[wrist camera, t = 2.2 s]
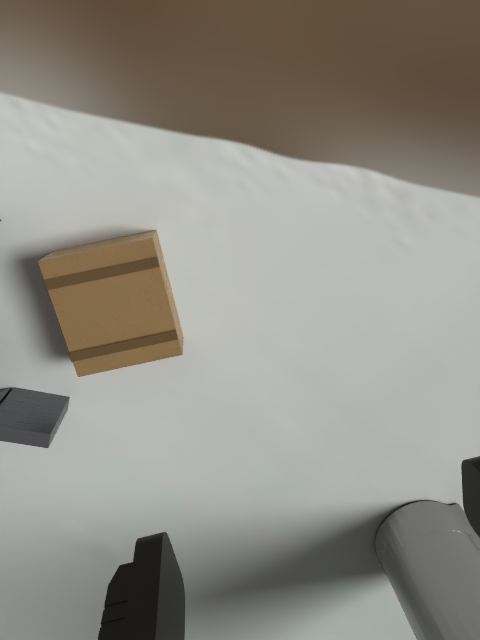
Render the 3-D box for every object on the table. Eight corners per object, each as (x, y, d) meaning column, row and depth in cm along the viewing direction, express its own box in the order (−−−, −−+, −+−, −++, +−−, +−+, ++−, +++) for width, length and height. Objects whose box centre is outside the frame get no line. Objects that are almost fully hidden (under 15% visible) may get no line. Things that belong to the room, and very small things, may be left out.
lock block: (156, 229, 35) (152, 238, 31) (183, 335, 38) (182, 355, 35) (54, 250, 35) (36, 261, 31) (89, 355, 38) (77, 378, 34)
